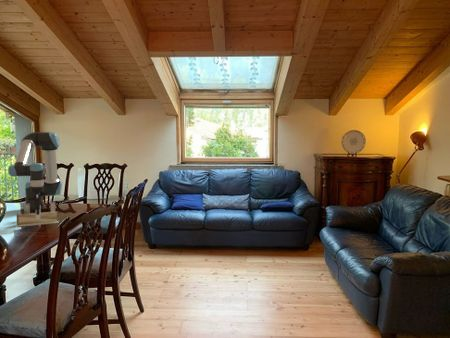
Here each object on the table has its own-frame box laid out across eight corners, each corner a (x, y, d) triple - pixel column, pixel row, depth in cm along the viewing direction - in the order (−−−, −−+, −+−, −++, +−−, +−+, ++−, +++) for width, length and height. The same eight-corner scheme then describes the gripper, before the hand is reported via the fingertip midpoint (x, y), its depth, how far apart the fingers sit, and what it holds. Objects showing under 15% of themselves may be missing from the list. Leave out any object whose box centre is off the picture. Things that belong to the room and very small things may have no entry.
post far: (49, 217, 227) (48, 202, 226) (57, 216, 230) (56, 201, 229) (49, 219, 222) (48, 203, 221) (57, 218, 225) (56, 202, 224)
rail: (17, 223, 206) (17, 214, 206) (58, 219, 218) (58, 211, 218) (16, 224, 203) (16, 215, 202) (58, 220, 215) (58, 212, 214)
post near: (23, 219, 219) (22, 203, 219) (31, 218, 222) (31, 203, 221) (22, 221, 214) (22, 205, 213) (31, 220, 217) (30, 204, 216)
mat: (17, 223, 209) (17, 222, 209) (58, 219, 221) (58, 218, 221) (16, 227, 200) (16, 226, 200) (58, 222, 212) (58, 222, 212)
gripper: (31, 184, 217) (32, 213, 219) (29, 189, 196) (31, 221, 198) (43, 183, 221) (44, 212, 223) (43, 188, 199) (44, 220, 201)
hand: (38, 217), depth 210 cm, fingers open, 13 cm apart
